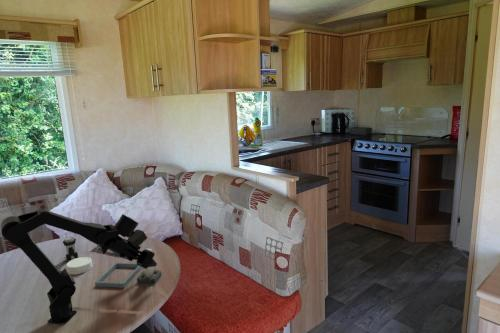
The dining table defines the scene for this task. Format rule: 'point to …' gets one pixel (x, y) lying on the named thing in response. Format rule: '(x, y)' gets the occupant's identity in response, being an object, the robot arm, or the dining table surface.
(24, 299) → the dining table surface
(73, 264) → the white round disc
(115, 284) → the parts tray
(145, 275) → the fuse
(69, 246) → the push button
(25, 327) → the dining table surface
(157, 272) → the grey piece
